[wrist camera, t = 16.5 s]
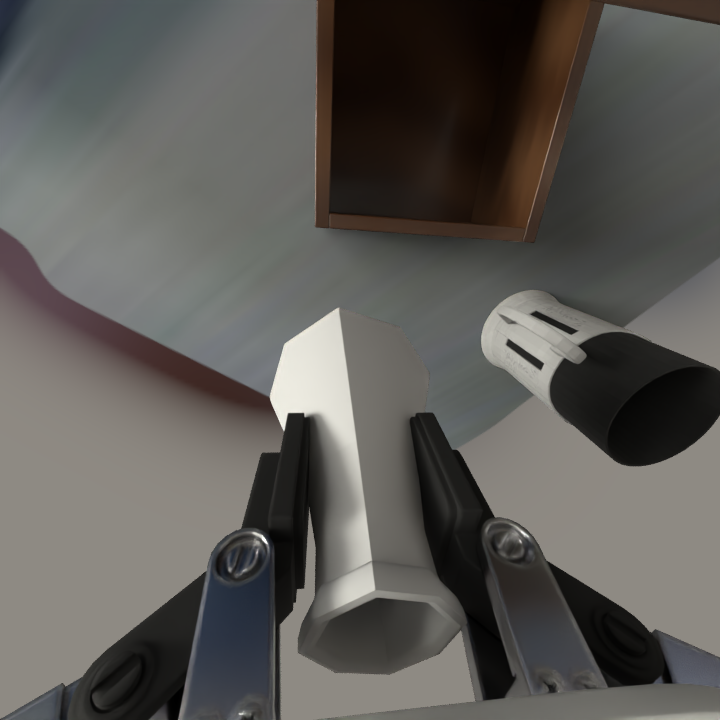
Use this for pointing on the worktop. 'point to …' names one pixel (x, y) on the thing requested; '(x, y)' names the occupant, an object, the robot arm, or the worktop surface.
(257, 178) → the worktop surface
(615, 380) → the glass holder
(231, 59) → the worktop surface
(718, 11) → the lid
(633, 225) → the worktop surface
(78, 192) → the worktop surface
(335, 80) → the chest
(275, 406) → the flask
